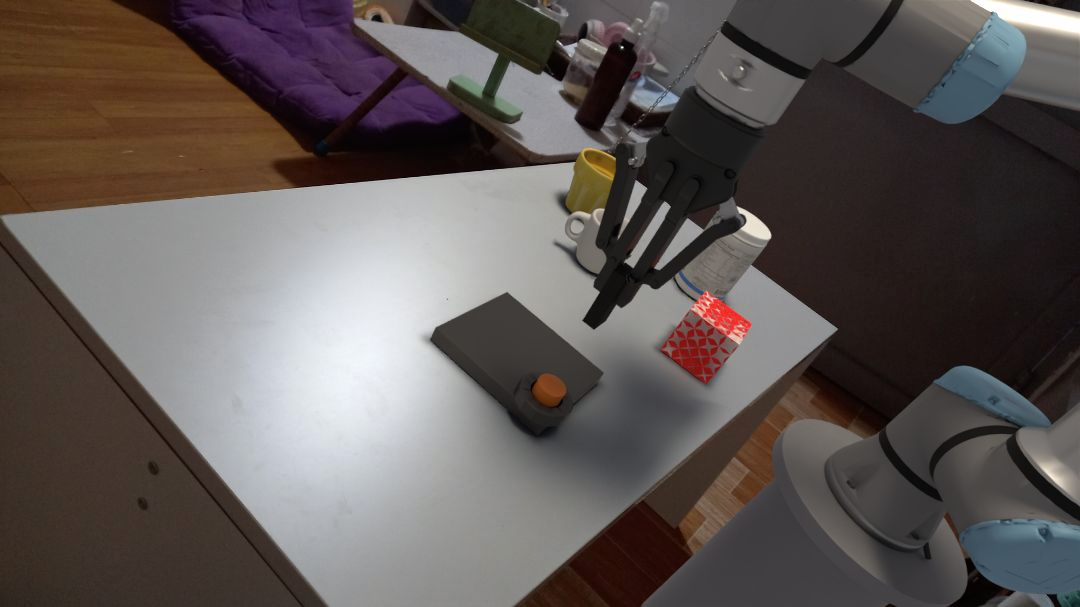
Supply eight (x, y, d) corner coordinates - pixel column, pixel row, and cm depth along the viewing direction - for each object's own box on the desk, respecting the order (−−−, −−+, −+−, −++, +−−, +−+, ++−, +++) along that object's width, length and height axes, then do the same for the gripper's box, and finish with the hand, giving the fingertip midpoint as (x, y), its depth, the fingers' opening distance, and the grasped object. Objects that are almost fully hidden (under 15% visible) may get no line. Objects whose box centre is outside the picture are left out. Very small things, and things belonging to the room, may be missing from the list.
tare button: (564, 399, 69) (571, 388, 68) (549, 412, 66) (556, 401, 65) (541, 380, 70) (548, 369, 69) (526, 392, 67) (533, 380, 66)
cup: (548, 253, 98) (571, 211, 93) (559, 233, 104) (582, 192, 100) (610, 288, 98) (636, 247, 94) (617, 265, 105) (642, 226, 100)
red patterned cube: (677, 329, 97) (706, 290, 93) (720, 361, 96) (752, 323, 91) (659, 349, 91) (690, 309, 87) (706, 384, 89) (739, 345, 85)
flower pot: (614, 235, 113) (642, 188, 108) (563, 219, 109) (590, 170, 104) (599, 203, 121) (624, 158, 116) (550, 187, 116) (574, 140, 111)
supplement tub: (678, 263, 116) (725, 196, 108) (723, 293, 115) (774, 227, 107) (667, 284, 108) (717, 212, 100) (715, 315, 107) (770, 246, 99)
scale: (603, 389, 78) (617, 369, 76) (539, 447, 66) (554, 425, 64) (501, 302, 83) (512, 282, 81) (423, 342, 71) (434, 319, 69)
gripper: (646, 63, 50) (524, 292, 62) (791, 156, 46) (631, 377, 59) (679, 63, 56) (562, 271, 68) (809, 145, 52) (660, 348, 65)
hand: (594, 320), depth 64 cm, fingers closed
